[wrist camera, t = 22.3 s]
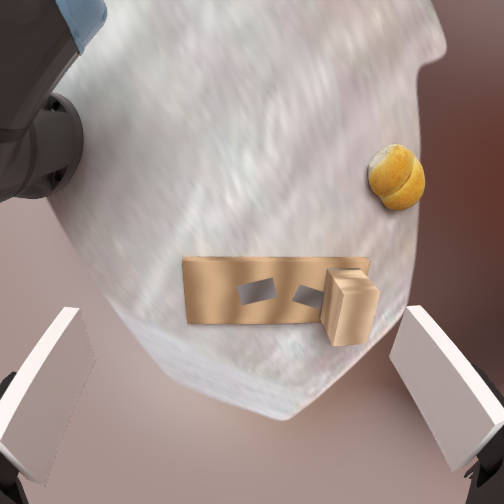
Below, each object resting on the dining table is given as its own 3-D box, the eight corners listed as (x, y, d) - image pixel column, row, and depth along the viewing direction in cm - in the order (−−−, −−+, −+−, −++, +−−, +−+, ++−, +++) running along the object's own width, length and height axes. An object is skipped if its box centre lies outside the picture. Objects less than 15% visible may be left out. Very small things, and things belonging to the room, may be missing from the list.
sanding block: (319, 316, 44) (332, 346, 37) (327, 268, 41) (343, 294, 34) (349, 315, 44) (366, 343, 38) (359, 268, 41) (380, 292, 35)
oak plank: (188, 317, 44) (187, 323, 43) (183, 256, 41) (181, 261, 39) (354, 314, 46) (357, 319, 45) (366, 257, 42) (370, 261, 41)
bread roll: (393, 217, 40) (407, 226, 37) (356, 174, 38) (368, 179, 34) (427, 178, 38) (443, 183, 35) (393, 133, 36) (408, 134, 32)
